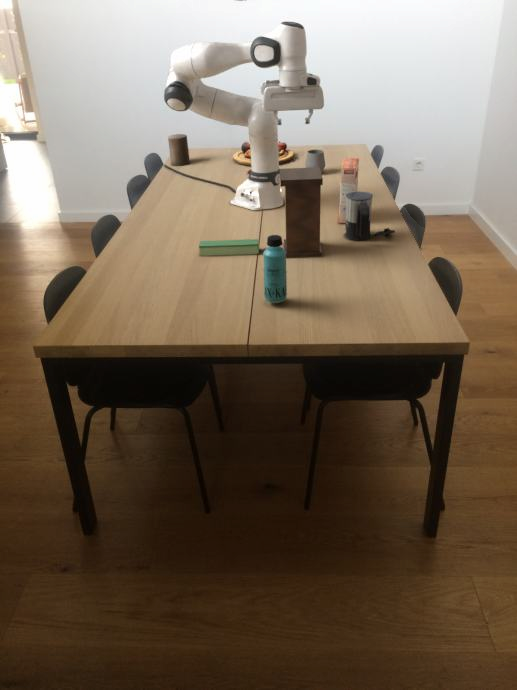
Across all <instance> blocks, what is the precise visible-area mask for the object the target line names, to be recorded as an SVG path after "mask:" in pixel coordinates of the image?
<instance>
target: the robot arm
mask: <svg viewBox="0 0 517 690" xmlns="http://www.w3.org/2000/svg"><path fill="white" fill-rule="evenodd" d="M307 46H308V45H307V35H306V29H305V27H304V25H302V24H301V23H299V22H295V21H281V22H280V23H279V25H277V27H275V28H273V29H271V30H270V31H269V32H266V33H264V34H261V35H259V36H257V37H255V38H254V39H253V40H252V41H247V42H238V43H236V42H235V43H234V42H233V43H232V42H222V41H221V42H220V41H200V42H198V41H197V42H193V43H189V44H186V45H183V46H179V47H178V48H176V49H175V50H174V51H173V52H172V53H171V56H170V68H169V70H168V74H167V76H168V77H167V80H166V85H165V88H164V92H163V98H164V99H163V100H164V102H165V104H166V105H167V107H169V108H170V109H171V110H173V111H176V112H187V111H188V110H189V111H192V112H194V113H195V114H197V115H199V116H202V117H204V118H207V119H211V120H213V121H216V122H220V123H224V124H227V125H231V126H240V127H245V128H246V127H247V129H248V139H249V144H250V150H251V166H250V167H251V168H250V169H249V170H248V171H246V172H245V173H246V174H245V175H246V176H247V178H246V179H245V180H244V181H243V182H242V183H241V184H240V185H238V186H237V187H236V190H235V189H234V188H233V187H232V186H231V185H228V184H224V183H220V182H217V181H212V180H209V179H204V178H201V177H196V176H193V175H190V174H186V173H183V172H181V171H179V170H177V169H174V168H172V167H170V166H168V165H166V164H163V166H164V167H165V168H166V169H168V170H171V171H172V172H174V173H176V174H178V175H181V176H184V177H187V178H189V179H194V180H197V181H201V182H205V183H210V184H213V185H217V186H221V187H223V188H224V187H225V188H227V189H230V191H232V192H233V193H235V196H234V197H233V198H232V199H230V204H231V205H233V206H237V207H239V208H240V207H241V208H244V209H247V210H251V211H261V210H273V209H277V208H279V207H282V206H283V205H285V201H284V199H283V194H282V188H281V186H280V169H281V168H280V164H279V153H278V143H279V134H278V126H282V118H279V112H282V111H283V112H286V111H308V116H307V117H305V118H304V120H305V121H304V124H305V125H309V124H311V118H312V116H313V114H314V110H323V108H324V107H325V97H324V96H325V95H324V91H323V88H322V86H321V77H319V76H318V75H316V74H313V73H310V72H307V71H308V70H307V69H308V68H307V63H306V58H307V51H308V50H307V49H308V48H307ZM250 63H253V64H254V65H255V66H256V67H258V68H260V69H270V68H272V67H278V79H273V80H264V82H262V83H261V85H260V93H261V95H262V99H261V98H258V97H257V98H256V97H251V96H247V95H241V94H237V93H233V92H230V91H227V90H224V89H220V88H217V87H213V86H209V85H207V84H205V83H204V82H203V81H202V79H207V78H212V77H216V76H217V75H220V74H222V73H225V72H227V71H229V70H231V69H233V68H236V67H238V66H241V65H245V64H250Z"/></svg>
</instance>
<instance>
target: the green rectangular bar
mask: <svg viewBox="0 0 517 690" xmlns="http://www.w3.org/2000/svg"><path fill="white" fill-rule="evenodd" d="M259 243H260V242H259V238H251V239H250V238H249V239H220V240H219V239H218V240H216V239H215V240H200V241H199V245H198V250H199V251H198V252H199V256H200V257H206V256H207V257H209V256H235V255H236V256H237V255H240V256H241V255H259V253H260V246H259V245H260V244H259Z"/></svg>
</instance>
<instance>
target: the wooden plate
mask: <svg viewBox="0 0 517 690" xmlns="http://www.w3.org/2000/svg"><path fill="white" fill-rule="evenodd" d="M240 149H241V150H238V151H237V152H235V153H234V154H233V155H232V161H234V163H236V164H239V165H243V166H250V167H251V150H250V142H248V141H244V142H243V143H242V144H241V148H240ZM278 153H279V165H281V164H284V163H287V162H289V161H291V160H293V159H294V157H295V152H294V151H293V150H291V149H288V145H287V143H286V142H281V141H278Z"/></svg>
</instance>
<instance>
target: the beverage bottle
mask: <svg viewBox="0 0 517 690" xmlns="http://www.w3.org/2000/svg"><path fill="white" fill-rule="evenodd" d="M266 245H267V246H268V247H266V248H265V250H264V251H263V270H262V271H263V288H264V299H265V301H267V302H268V303H272V304H279V303H282V302H284V301H286V300H287V297H288V296H287V295H288V290H287V289H288V288H287V285H288V284H287V283H288V282H287V281H288V279H287V273H288V271H287V258H286V251H285V250H284V247H282V246H283V237H282V236H281V235H279V234H272V235H269V236H267V241H266Z"/></svg>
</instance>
